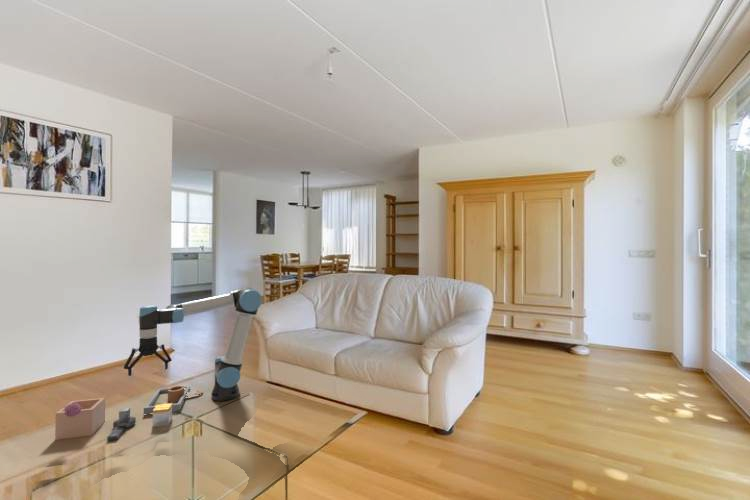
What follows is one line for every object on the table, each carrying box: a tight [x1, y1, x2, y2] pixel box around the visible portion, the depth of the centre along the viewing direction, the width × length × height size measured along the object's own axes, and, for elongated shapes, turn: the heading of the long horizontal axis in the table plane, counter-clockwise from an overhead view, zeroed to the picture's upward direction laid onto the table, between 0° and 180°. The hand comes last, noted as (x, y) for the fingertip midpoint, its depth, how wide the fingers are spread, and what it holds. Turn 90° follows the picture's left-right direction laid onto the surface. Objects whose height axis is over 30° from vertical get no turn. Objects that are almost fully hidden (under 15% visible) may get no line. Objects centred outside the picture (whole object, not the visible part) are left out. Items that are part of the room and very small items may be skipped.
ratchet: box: [106, 407, 136, 442], centre depth 168 cm, size 9×19×8 cm, turn 18°
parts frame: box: [143, 385, 191, 415], centre depth 199 cm, size 17×27×4 cm, turn 18°
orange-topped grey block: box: [152, 402, 173, 428], centre depth 176 cm, size 7×7×8 cm
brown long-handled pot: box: [167, 385, 204, 403], centre depth 205 cm, size 18×8×7 cm, turn 120°
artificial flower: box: [63, 402, 83, 417], centre depth 163 cm, size 7×7×25 cm
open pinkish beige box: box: [54, 397, 106, 441], centre depth 169 cm, size 14×14×12 cm
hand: (148, 378), depth 178 cm, fingers open, 13 cm apart
